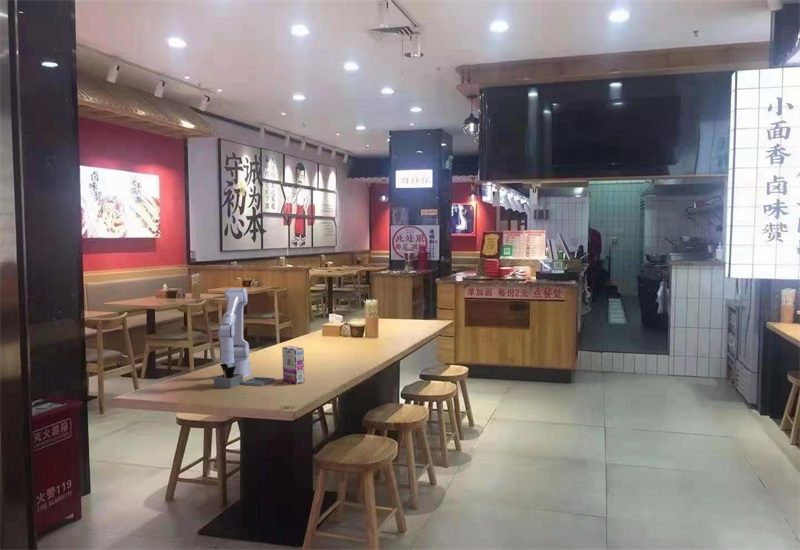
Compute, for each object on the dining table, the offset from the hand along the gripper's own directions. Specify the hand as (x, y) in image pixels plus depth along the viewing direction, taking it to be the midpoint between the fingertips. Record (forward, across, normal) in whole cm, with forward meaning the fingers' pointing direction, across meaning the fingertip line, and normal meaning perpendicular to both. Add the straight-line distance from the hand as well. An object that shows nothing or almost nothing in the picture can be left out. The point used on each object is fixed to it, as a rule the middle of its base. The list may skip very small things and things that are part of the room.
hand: (228, 380), depth 282 cm
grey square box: (+3, 0, 0) cm, 3 cm away
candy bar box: (+3, +6, +29) cm, 30 cm away
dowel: (+2, 0, 0) cm, 2 cm away
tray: (+3, +2, +13) cm, 14 cm away
